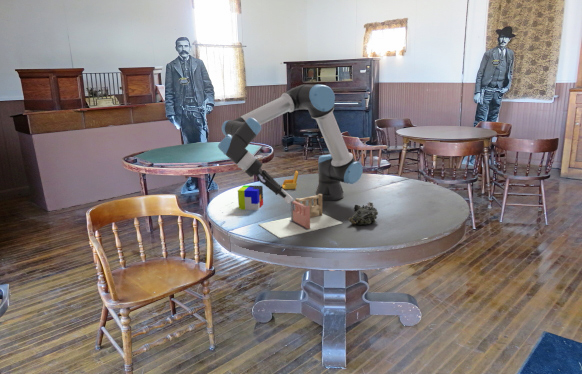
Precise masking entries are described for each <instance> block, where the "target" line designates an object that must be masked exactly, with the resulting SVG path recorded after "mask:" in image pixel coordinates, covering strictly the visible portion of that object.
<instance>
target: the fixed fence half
mask: <svg viewBox="0 0 582 374" xmlns="http://www.w3.org/2000/svg"><path fill="white" fill-rule="evenodd" d="M294 201H296V202H298V203H300V202H302V203H301V204H303V205H305V206H310V217H315V216H319V215H322V214H323V200H322V194H318V195H316V194H315V195H312V196H311V195H310V196H306V197H302V198H301V197H300V198H294ZM307 201H308V205H307ZM312 201H313V203H312ZM298 211H299V209H298Z"/></svg>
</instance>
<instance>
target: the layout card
mask: <svg viewBox="0 0 582 374" xmlns="http://www.w3.org/2000/svg"><path fill="white" fill-rule="evenodd" d="M343 224H344V223H343V222H342V221H340V220H337V219H335V218H333V217H331V216H329V215H327V214H325V213H322V215H319V216H315V217H310V228H305V227H304V226H302V225H300V224H298V223H296V222H295V221H293V220H291V216H290V217H287V218H280V219H278V220H272V221H267V222H261V223H259V224H258V226H260V227H261V228H262V229H265V231H267V232H269V233H270V234H272V235H274V236H275V237H277V238H278V239H283V238H287V237H292V236H297V235H301V234H305V233H309V232H313V231H317V230H321V229H326V228H330V227H335V226H339V225H343Z"/></svg>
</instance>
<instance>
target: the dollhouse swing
mask: <svg viewBox="0 0 582 374" xmlns="http://www.w3.org/2000/svg"><path fill="white" fill-rule="evenodd" d="M298 176H299V171H298V170H295V171H294V175H293V179H284V180H283V182H282V184H281V186H283V188H282V189H283V190H296V188H297V187H298V186H297V185H298V184H297V181H298V178H299V177H298Z"/></svg>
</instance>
